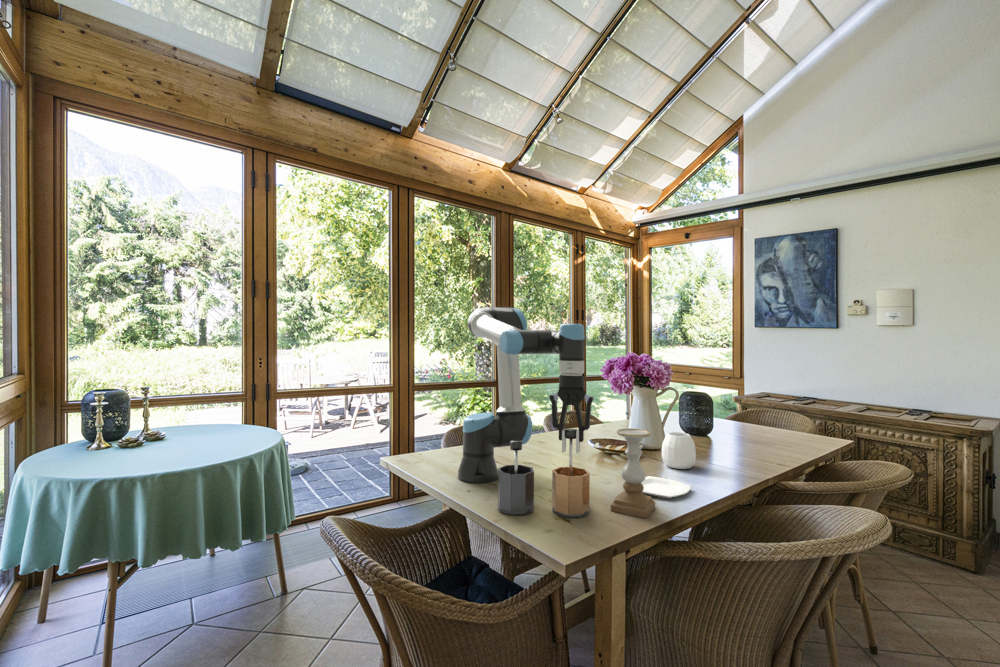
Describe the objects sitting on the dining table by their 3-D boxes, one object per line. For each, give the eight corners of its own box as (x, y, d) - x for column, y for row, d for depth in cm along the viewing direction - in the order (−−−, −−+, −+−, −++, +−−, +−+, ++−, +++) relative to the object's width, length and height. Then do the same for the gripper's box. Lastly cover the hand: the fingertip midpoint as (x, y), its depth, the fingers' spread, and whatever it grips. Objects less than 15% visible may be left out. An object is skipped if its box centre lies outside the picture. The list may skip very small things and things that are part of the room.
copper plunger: (552, 491, 140) (552, 430, 140) (565, 485, 146) (566, 426, 146) (575, 497, 135) (576, 433, 135) (588, 490, 141) (589, 429, 141)
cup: (666, 460, 199) (666, 429, 199) (699, 466, 191) (699, 433, 191) (657, 467, 188) (657, 434, 188) (691, 473, 181) (691, 439, 181)
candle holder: (646, 518, 135) (647, 436, 135) (610, 511, 141) (610, 432, 141) (655, 507, 144) (656, 430, 145) (621, 500, 150) (621, 426, 150)
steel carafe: (490, 509, 141) (490, 470, 141) (516, 497, 152) (517, 461, 152) (519, 518, 134) (520, 477, 134) (545, 505, 145) (545, 467, 145)
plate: (647, 479, 174) (647, 473, 174) (698, 491, 161) (698, 485, 161) (619, 490, 161) (619, 485, 161) (673, 505, 147) (673, 499, 147)
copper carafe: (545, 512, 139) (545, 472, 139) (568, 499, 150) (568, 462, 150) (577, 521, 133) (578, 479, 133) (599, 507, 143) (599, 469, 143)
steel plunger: (497, 502, 141) (498, 441, 141) (513, 495, 148) (513, 437, 148) (518, 508, 136) (519, 445, 136) (533, 501, 143) (534, 440, 143)
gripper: (541, 374, 140) (541, 452, 139) (598, 376, 134) (597, 457, 134) (547, 372, 147) (546, 446, 147) (600, 374, 142) (600, 451, 141)
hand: (570, 451), depth 140 cm, fingers closed on copper plunger, 4 cm apart
